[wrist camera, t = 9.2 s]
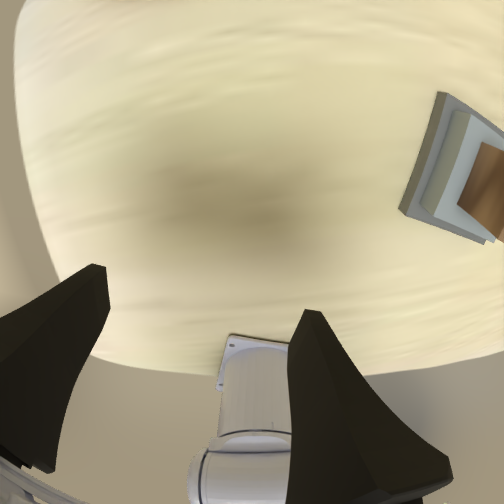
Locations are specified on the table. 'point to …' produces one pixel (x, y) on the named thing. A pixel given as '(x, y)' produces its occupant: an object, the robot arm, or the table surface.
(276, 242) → the table surface
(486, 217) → the walnut cube
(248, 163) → the table surface
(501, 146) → the slate top slab
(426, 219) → the gray square platform
